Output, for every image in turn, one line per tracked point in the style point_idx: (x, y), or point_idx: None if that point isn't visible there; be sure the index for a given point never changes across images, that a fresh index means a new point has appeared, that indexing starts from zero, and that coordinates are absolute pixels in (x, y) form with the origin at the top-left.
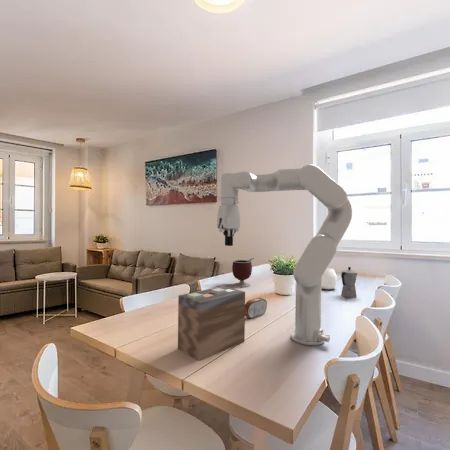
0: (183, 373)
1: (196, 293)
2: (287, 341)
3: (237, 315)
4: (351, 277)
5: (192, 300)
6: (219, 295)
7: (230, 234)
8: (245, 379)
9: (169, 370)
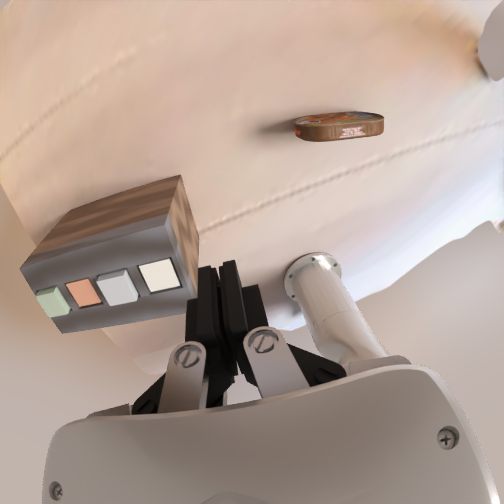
0: None
1: (54, 299)
2: (274, 270)
3: None
4: None
5: None
6: (111, 312)
7: (251, 380)
8: (140, 324)
9: None
